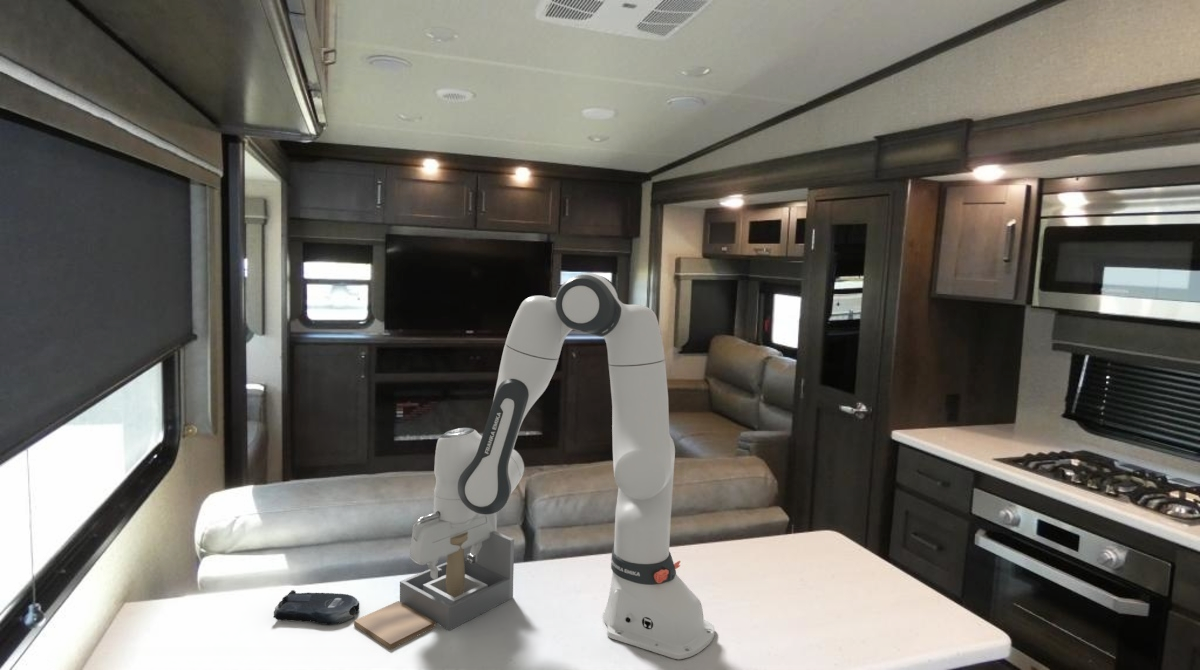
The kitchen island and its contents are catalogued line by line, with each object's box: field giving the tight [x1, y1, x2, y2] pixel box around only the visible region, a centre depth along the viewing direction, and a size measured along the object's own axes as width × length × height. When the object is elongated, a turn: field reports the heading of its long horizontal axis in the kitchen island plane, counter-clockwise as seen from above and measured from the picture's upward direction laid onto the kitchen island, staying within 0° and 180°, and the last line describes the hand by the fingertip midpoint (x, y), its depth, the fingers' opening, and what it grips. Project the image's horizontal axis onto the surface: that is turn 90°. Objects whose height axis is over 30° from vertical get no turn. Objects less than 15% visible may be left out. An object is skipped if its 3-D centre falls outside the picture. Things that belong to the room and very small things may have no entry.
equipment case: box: [399, 530, 515, 631], centre depth 138 cm, size 16×17×13 cm
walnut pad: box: [353, 600, 436, 650], centre depth 128 cm, size 12×10×1 cm
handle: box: [446, 532, 468, 598], centre depth 138 cm, size 5×6×15 cm
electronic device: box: [273, 589, 360, 626], centre depth 132 cm, size 9×6×15 cm
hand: (454, 569), depth 138 cm, fingers open, 8 cm apart
